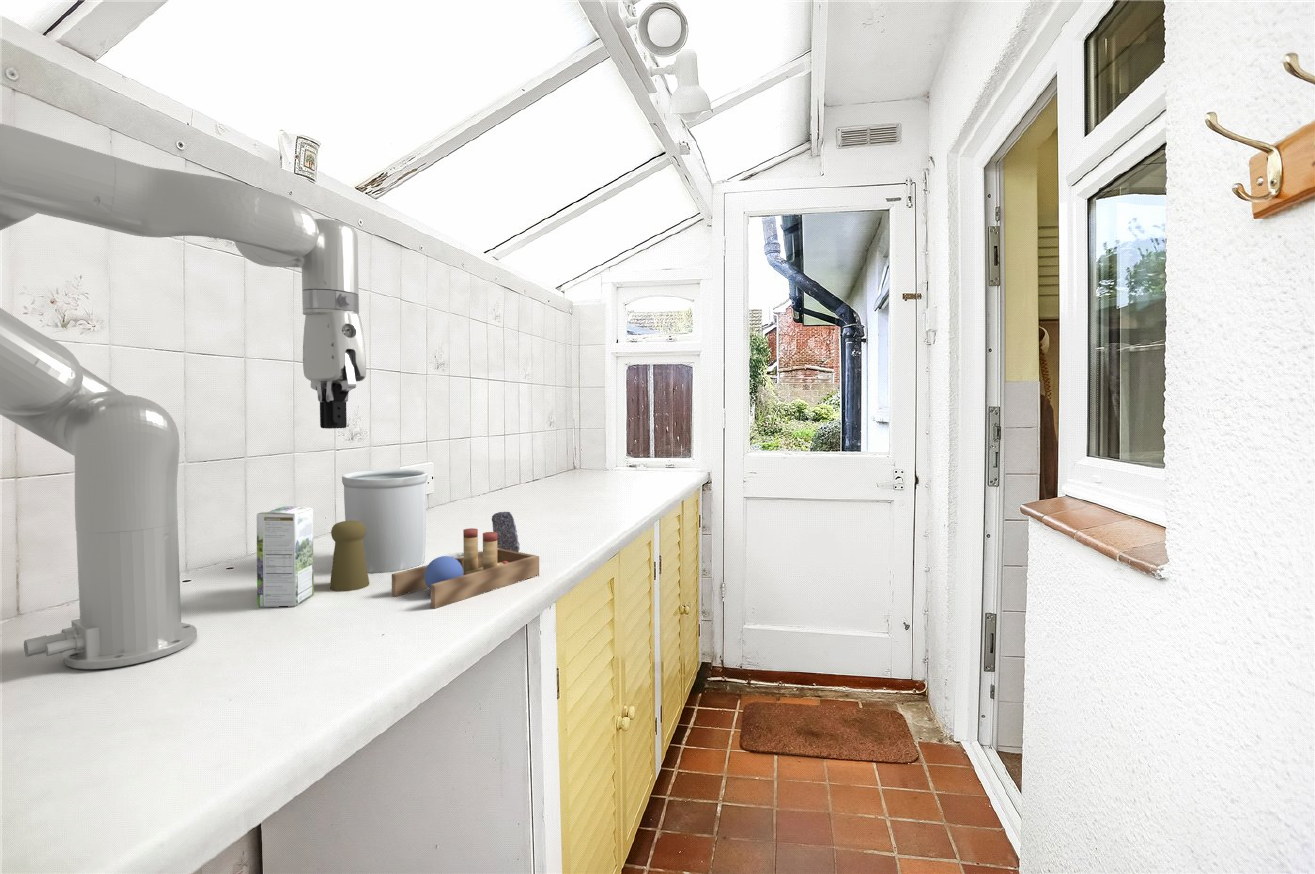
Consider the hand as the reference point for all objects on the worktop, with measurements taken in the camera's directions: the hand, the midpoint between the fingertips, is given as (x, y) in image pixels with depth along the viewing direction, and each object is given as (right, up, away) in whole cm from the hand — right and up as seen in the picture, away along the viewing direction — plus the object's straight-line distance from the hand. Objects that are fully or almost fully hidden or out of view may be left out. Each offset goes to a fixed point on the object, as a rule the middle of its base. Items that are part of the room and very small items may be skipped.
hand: (333, 427), depth 93 cm
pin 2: (+21, -27, +12) cm, 36 cm away
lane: (+17, -27, +11) cm, 34 cm away
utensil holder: (-3, -26, +25) cm, 36 cm away
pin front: (+17, -26, +11) cm, 32 cm away
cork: (-3, -27, +10) cm, 29 cm away
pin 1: (+16, -26, +15) cm, 34 cm away
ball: (+14, -24, +7) cm, 29 cm away
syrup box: (-8, -27, +2) cm, 28 cm away
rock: (+19, -26, +30) cm, 44 cm away
